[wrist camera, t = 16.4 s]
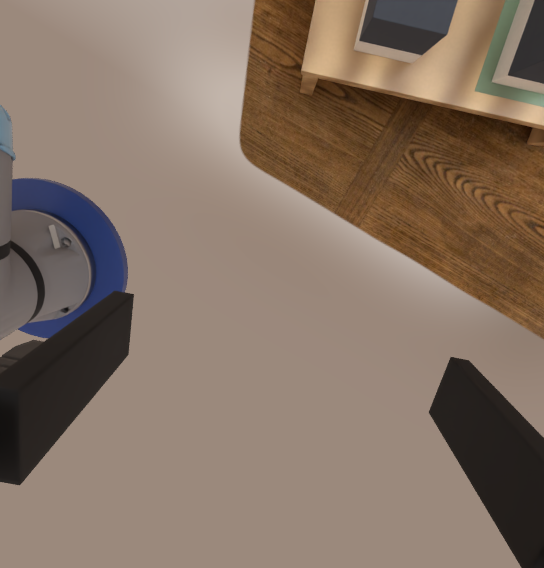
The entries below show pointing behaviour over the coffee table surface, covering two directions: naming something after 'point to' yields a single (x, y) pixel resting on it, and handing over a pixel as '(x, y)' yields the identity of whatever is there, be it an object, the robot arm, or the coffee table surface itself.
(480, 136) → the coffee table surface
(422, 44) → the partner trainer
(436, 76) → the low wooden bench
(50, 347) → the robot arm
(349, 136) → the coffee table surface
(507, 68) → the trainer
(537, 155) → the coffee table surface
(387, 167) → the coffee table surface
